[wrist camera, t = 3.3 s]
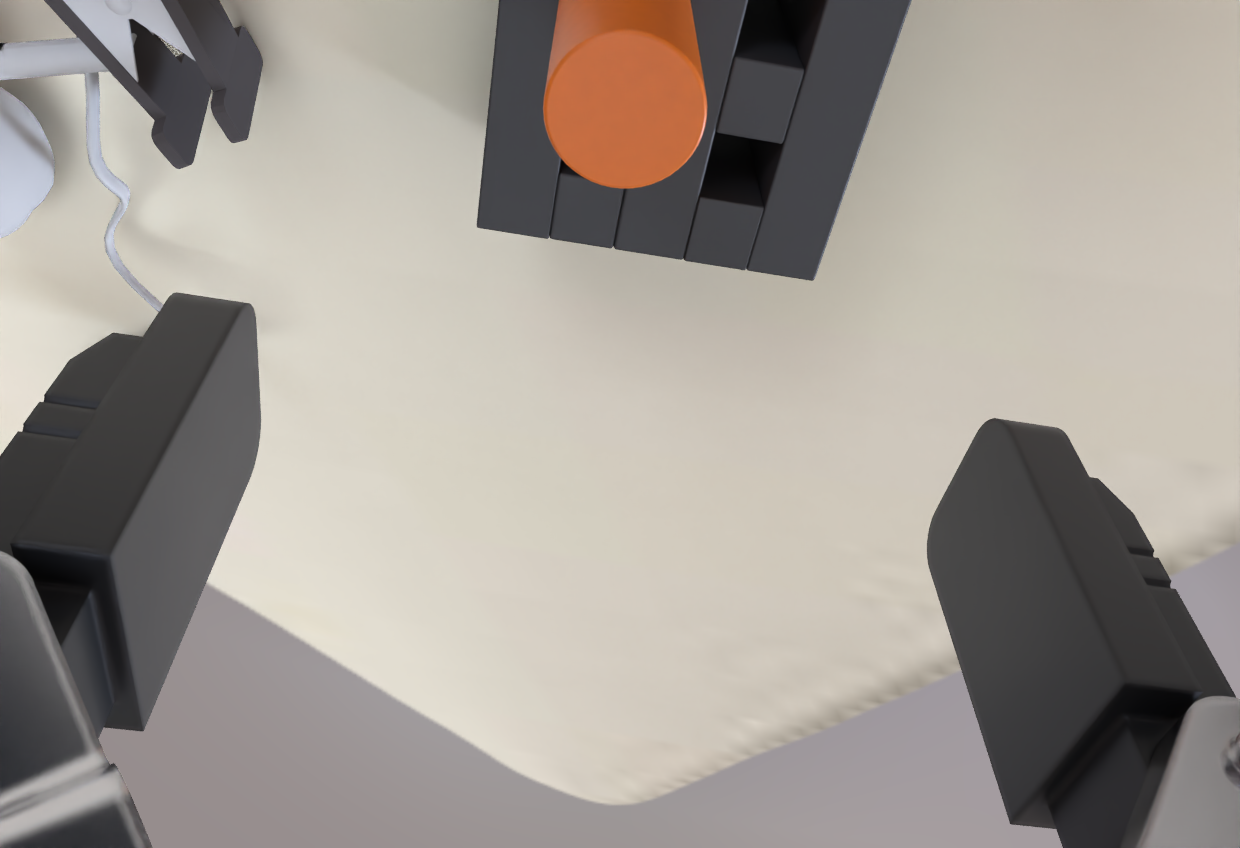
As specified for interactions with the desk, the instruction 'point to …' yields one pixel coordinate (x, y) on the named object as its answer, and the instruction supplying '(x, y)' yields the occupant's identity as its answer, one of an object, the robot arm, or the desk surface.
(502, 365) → the desk surface
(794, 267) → the holder
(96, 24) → the clip-on lamp
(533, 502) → the desk surface
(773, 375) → the desk surface
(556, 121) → the orange cylinder rod
